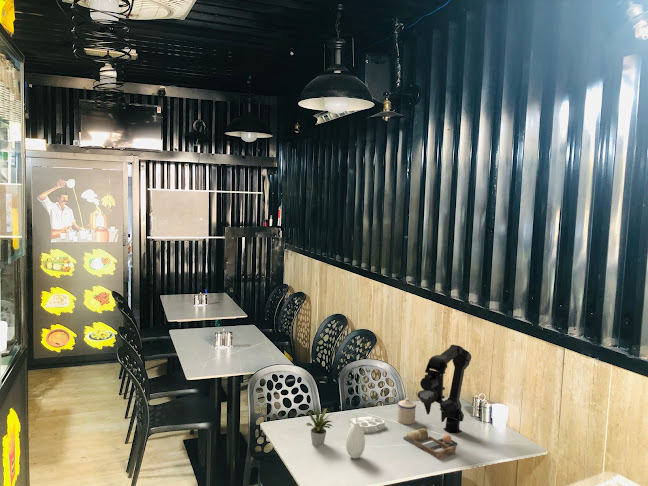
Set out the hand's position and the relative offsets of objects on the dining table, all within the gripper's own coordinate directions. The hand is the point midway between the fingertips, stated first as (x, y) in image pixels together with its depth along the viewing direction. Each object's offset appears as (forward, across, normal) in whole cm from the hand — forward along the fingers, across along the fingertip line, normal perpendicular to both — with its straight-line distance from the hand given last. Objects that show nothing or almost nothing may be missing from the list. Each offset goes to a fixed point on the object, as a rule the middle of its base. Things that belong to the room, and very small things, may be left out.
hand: (435, 417), depth 235 cm
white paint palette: (+12, -28, -18) cm, 36 cm away
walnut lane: (+12, +5, -5) cm, 14 cm away
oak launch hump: (+12, -6, -5) cm, 14 cm away
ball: (+12, +3, +5) cm, 13 cm away
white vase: (+11, -6, -41) cm, 43 cm away
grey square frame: (+12, +3, +5) cm, 13 cm away
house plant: (+11, -23, -50) cm, 56 cm away
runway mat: (+12, -3, -5) cm, 13 cm away
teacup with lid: (+12, -26, +5) cm, 29 cm away
